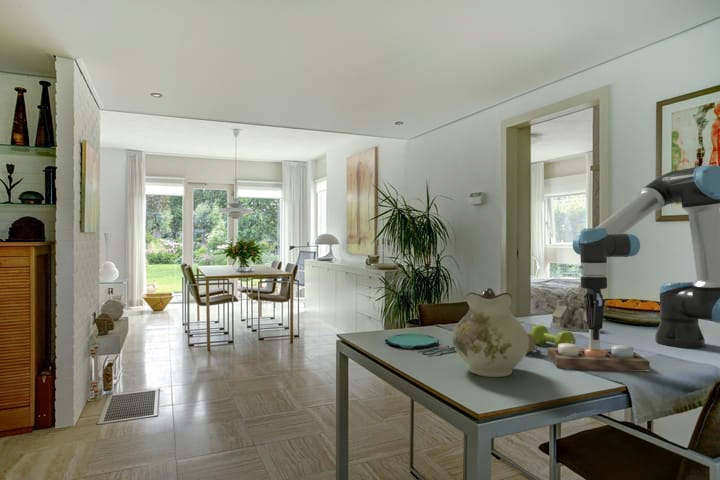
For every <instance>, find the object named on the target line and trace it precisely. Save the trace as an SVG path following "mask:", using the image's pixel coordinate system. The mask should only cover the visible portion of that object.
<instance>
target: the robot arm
mask: <svg viewBox="0 0 720 480" xmlns="http://www.w3.org/2000/svg"><path fill="white" fill-rule="evenodd" d="M675 203H681V209H683V210H684V211H686V212H687V213H688V214H687V215H688V221H689V230H690V236H691V244H692V253H693V259H694V264H695V265H694V266H695V274H696V276H695V277H696V280H694V281H688V282H667V283H665V282H664V283H662V284H661V285H660V288H659V311H660V312H659V313H660V314H659V315H660V322H659V325H658V327H657V330H656V333H655V340H654V341H655V342H656V343H657V344H660V345H661V344H662V345H666V346H670V347H675V348H676V347H678V348H689V349H690V348H691V349H692V348H693V349H698V348H703V347H705V346H706V342H705V341H706V340H705V337H704V335H703V332H702V329H701V327H700V325H699V320H703V321H709V322H714V323H717V324H720V165H715V164H709V165H707V164H706V165H700V166H694V167H689V168H683V169H678V170H672V171H669V172H667V173H664V174H662V175H661V176H659V177H657V178H655V179H654V180H652V181H651V182H650V183H648V184H646V185H645V186H644V187H643V188H641V189H640V190H639V191H638V195H637V196H635V197H634V198H633V199H631V200H630V201H629V202H628V203H627V204H624V206H622V207H621V208H619V209H618V210H617V211H615V212H614V213H613V214H611V215H610V216H609V217H608V218H607V219H605V220H604V221H602V222H601V223H600V224H599V225H597V226H595V227H591V228H590V227H587V228H586V227H585V228H583V229H581V230H580V234H579V235H576V236H575V237H574V238H573V240H572V244H571V245H572V249H573V251H574V252H575V253H576V254H577V255H578V256H580V265H578V268H579V269H580V275H581V277H580V287H581V288H582V289H586V293H585V295H584V296H583V298H584V305H585V309H586V319H587V325H588V327H589V332H588V338H589V341H588V342H589V344H588V345H589V347H588V348H589V349H591V350H600V349H601V330H602V329H603V325H604V323H603V322H604V310H605V304H606V300H605V299H603V296H604V295H603V294H602V290H604V289H608V277H607V275H608V258H622V257H623V258H627V257H635V256H636V255H638V253H639V252H640V250H641V241H640V239H639V238H638V236H637V235H635V234H632V233H626V232H628V231H629V230H630V229H632V228H633V227H634V226H636V225H637V224H638V223H639V222H641V221H642V220H644V219H645V218H646V217H647V216H649V215H650V214H651V213H652V212H654V211H659V210H661V209H663V208H664V207H665V206H669V205H672V204H675Z"/></svg>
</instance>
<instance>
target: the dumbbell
mask: <svg viewBox="0 0 720 480" xmlns="http://www.w3.org/2000/svg"><path fill="white" fill-rule="evenodd" d="M529 334H531V335H532V336H533V337H534V339H535V345H536V346H540V345H546V343H547V342H548V343H551V344H555V348H558V344H561V343H569V344H575V345H576V339H575V336H574V335H573V333H572V331H565V330H561V331H559V332H558V333H557V334H553V333H549V331H548V329H547V328H546V326H545V325H540V324H538V325H533V326H532V328H531V329H530V332H529Z"/></svg>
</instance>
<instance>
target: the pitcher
mask: <svg viewBox="0 0 720 480" xmlns="http://www.w3.org/2000/svg"><path fill="white" fill-rule="evenodd" d="M465 298H466V299H465V300H466V303H467V304H468V305H469V309H468V311H467V313H466V314H465V315H464V316H463V317H461V319H460V320H459V321H458V322H457V324H456V325H455V328H454V330H453V332H452V344H453V347H455V349H454V350H456V352H455V353H456V354H457V355H458V356H459V358H460V359H461V360H462V361H463V362H464V363H465V364H466V365H467V366H468V368H469V372H471V373H472V374H475V375H477V376H481V377H486V378H502V377H503V378H504V377H507V376H510V375H512V374H513V370H514V368H515V367H517V366H518V365H519V363H520V362H521V361H523V359H524V358H525V356H526V354H528V353H527V351H528V347H529V337H528V334H527V333H528V331H527V330H526V329H525V327H524V326H523V324H522V323H521V322H520V321H519V320H518V319H517V318H516V317H515V315H513V314H512V312H511V310H510V306H511V304H512V302H513V301H512V298H513V295H512V294H511V293H509V292H502V293H499V294H495V291H494V290H493V289H492V288H491V287H487V288H485V289H484V290H483V292H481V294H479V293H476V292H469V293H467V294H466V296H465Z"/></svg>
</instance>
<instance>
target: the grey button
mask: <svg viewBox="0 0 720 480" xmlns="http://www.w3.org/2000/svg"><path fill="white" fill-rule="evenodd" d="M610 349H611V353H612V356H613V357H618V358H633V352H634V347H633V346H631V345H630V346H629V345H625V344H613V345H611V347H610Z"/></svg>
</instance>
